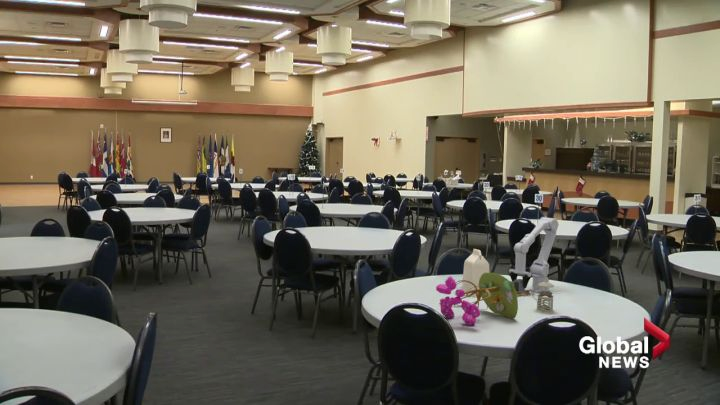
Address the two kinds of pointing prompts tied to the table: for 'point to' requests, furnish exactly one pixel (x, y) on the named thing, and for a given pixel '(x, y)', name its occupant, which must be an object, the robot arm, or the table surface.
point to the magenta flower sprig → (492, 291)
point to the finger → (518, 285)
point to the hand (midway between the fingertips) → (519, 286)
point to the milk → (474, 270)
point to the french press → (544, 298)
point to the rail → (522, 293)
